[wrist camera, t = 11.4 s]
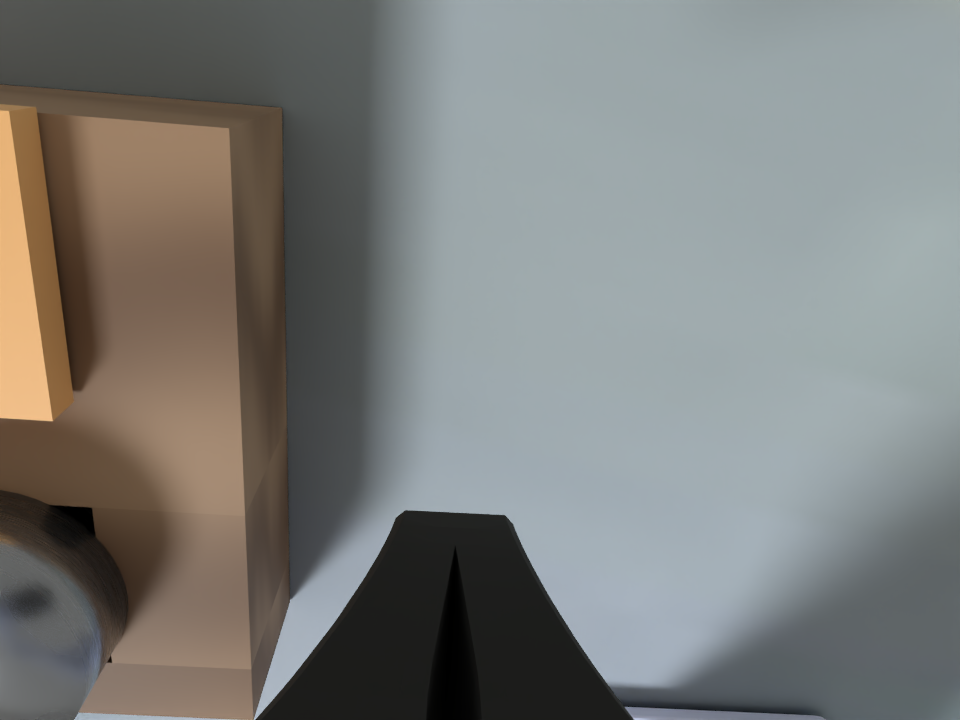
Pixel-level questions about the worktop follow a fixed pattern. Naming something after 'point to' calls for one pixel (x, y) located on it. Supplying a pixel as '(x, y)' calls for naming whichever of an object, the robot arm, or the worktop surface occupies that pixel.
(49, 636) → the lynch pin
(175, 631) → the hitch block
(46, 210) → the block
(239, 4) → the worktop surface
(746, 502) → the worktop surface
